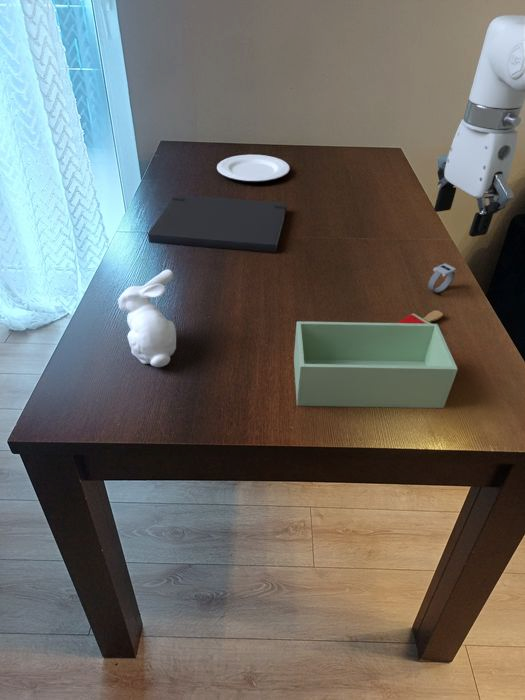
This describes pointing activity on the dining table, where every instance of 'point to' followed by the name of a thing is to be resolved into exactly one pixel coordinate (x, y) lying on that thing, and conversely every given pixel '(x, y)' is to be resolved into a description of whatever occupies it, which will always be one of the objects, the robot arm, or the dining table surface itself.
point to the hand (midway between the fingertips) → (459, 222)
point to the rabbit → (149, 322)
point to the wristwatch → (443, 271)
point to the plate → (253, 168)
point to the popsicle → (419, 320)
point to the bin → (372, 365)
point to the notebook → (220, 223)
